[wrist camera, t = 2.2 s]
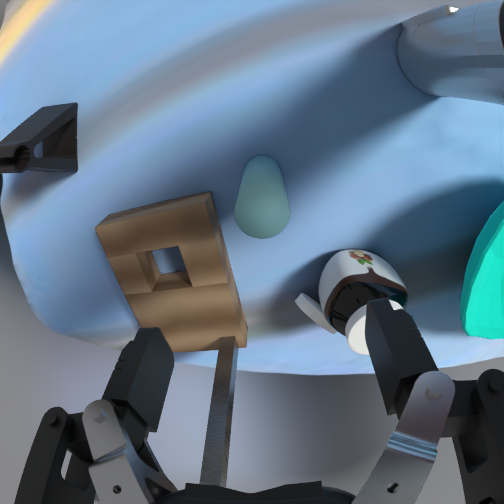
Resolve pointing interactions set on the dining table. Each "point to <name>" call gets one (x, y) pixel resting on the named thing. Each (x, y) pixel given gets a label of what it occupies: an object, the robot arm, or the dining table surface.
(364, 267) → the spread jar
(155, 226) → the sheltered socket
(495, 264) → the table top decor
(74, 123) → the phone stand
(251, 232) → the peg
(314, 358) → the dining table surface
